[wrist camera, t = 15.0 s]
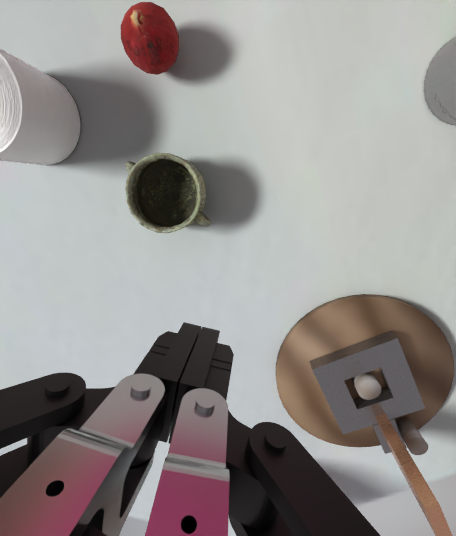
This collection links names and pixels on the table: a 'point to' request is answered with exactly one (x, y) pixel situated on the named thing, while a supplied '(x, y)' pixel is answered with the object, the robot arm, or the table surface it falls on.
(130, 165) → the vessel
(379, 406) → the handled square nut
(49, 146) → the toilet tissue
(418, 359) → the post base
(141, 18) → the red oval fruit
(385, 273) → the table surface
